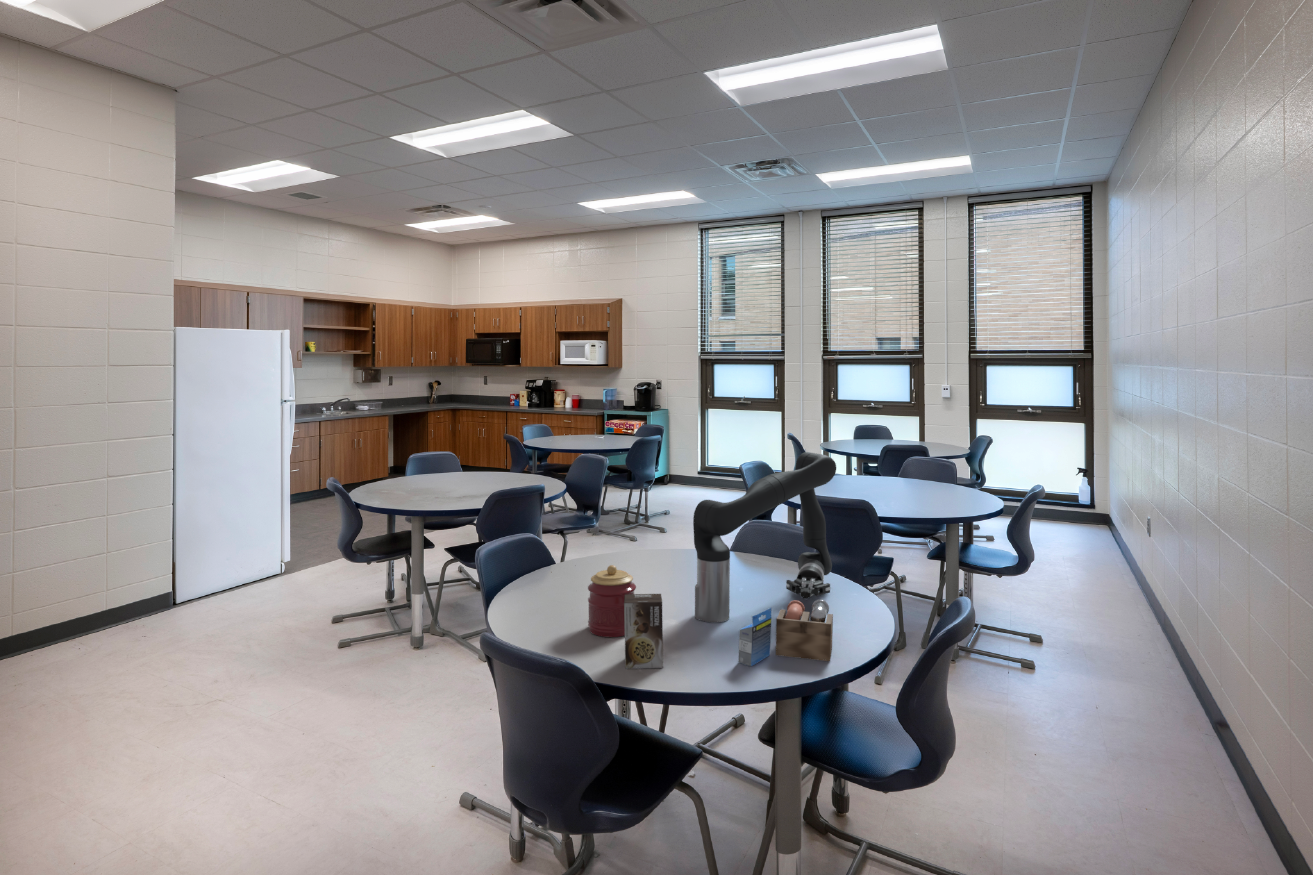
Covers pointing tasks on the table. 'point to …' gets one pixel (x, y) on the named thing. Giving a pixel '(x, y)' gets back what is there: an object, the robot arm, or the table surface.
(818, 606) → the steel plug
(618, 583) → the canister
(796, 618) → the brick plug
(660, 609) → the coffee box
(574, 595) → the table surface
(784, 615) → the wooden plug holder
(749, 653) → the label tape box
